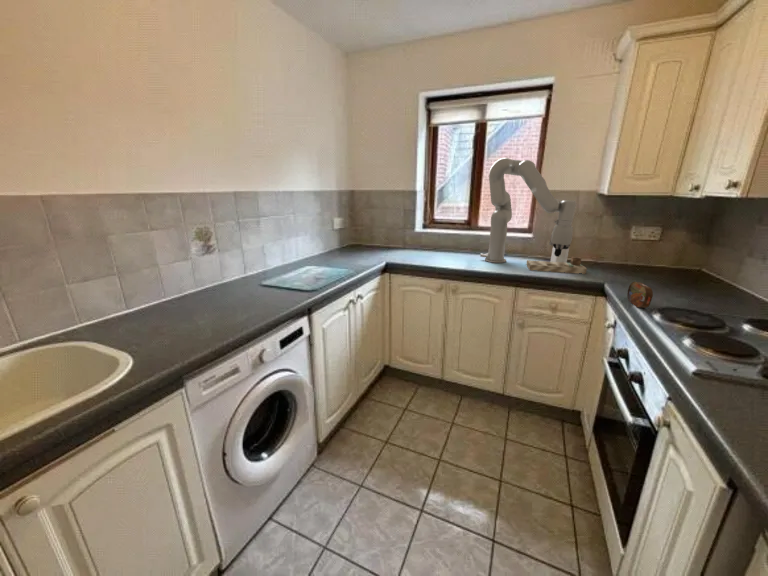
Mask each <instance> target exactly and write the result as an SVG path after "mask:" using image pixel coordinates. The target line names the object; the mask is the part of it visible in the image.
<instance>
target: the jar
mask: <svg viewBox="0 0 768 576" xmlns="http://www.w3.org/2000/svg"><path fill="white" fill-rule="evenodd" d="M560 245H561V244H558V248H559V247H560ZM569 251H570V248H569V247H565V248H563V249H562V251H561V255H559V257H558V256H555V255H554V252H555V247H554V246H552V251H551V254H550V255H551V256H550V261H549V262H565V263H568V257H569Z"/></svg>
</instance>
